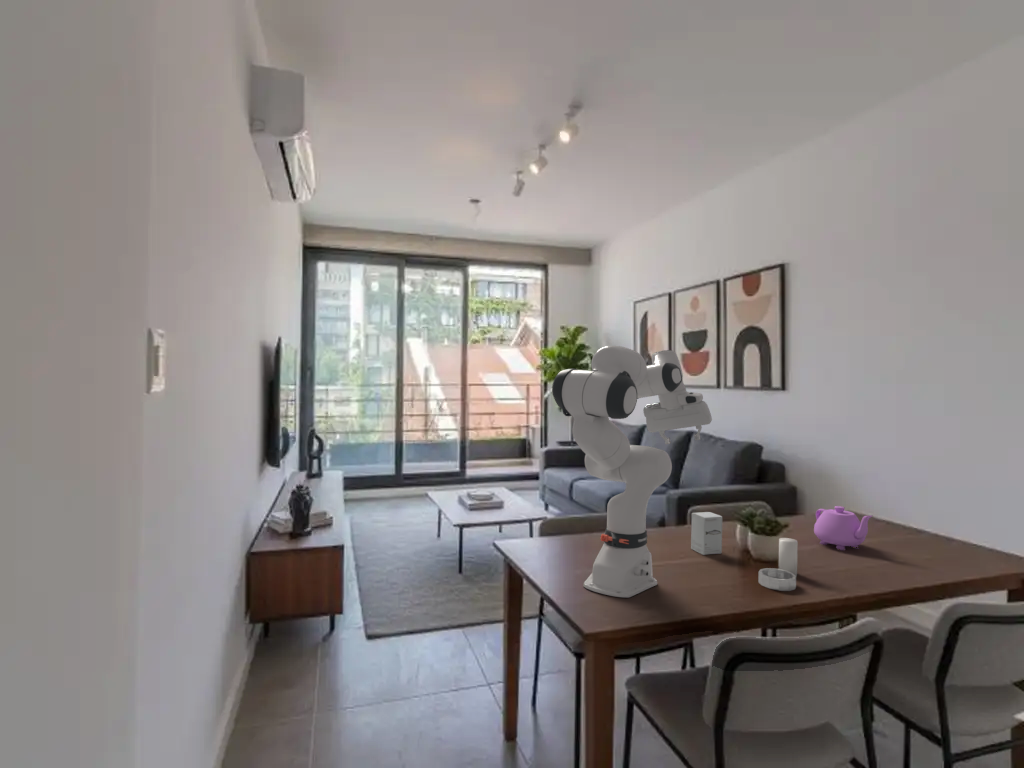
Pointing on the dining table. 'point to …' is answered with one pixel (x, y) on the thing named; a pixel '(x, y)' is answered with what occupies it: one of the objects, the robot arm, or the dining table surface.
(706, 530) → the supplement box
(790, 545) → the white cylinder
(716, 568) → the dining table surface
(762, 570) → the collar
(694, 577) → the dining table surface
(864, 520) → the teapot
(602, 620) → the dining table surface
